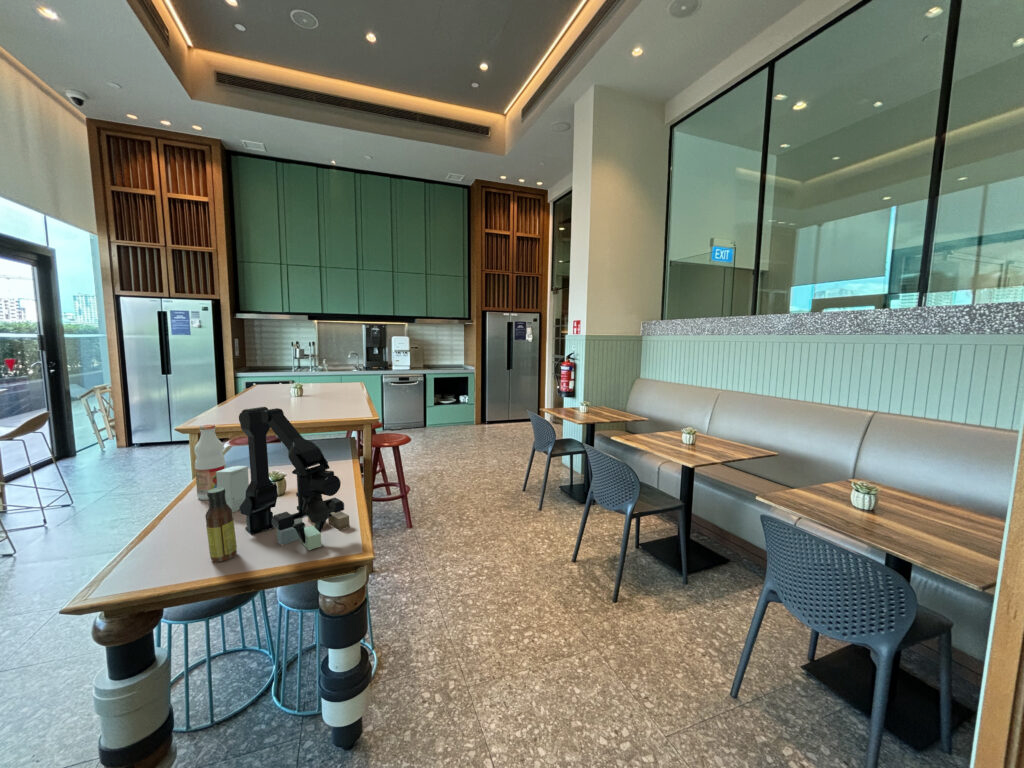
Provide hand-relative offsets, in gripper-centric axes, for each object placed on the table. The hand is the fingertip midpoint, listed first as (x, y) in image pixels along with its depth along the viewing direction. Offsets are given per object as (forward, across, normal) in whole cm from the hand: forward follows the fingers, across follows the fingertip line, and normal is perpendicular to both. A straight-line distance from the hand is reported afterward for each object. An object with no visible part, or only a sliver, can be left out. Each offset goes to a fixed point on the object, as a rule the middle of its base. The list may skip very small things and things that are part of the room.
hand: (310, 540), depth 121 cm
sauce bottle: (+2, -19, +12) cm, 23 cm away
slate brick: (+2, -2, +9) cm, 9 cm away
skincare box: (+2, -6, +49) cm, 49 cm away
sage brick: (+1, 0, 0) cm, 1 cm away
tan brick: (+2, +8, +14) cm, 16 cm away
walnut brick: (+2, +12, +7) cm, 14 cm away
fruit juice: (+2, -8, +69) cm, 70 cm away
